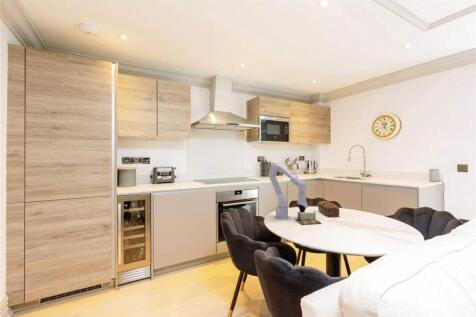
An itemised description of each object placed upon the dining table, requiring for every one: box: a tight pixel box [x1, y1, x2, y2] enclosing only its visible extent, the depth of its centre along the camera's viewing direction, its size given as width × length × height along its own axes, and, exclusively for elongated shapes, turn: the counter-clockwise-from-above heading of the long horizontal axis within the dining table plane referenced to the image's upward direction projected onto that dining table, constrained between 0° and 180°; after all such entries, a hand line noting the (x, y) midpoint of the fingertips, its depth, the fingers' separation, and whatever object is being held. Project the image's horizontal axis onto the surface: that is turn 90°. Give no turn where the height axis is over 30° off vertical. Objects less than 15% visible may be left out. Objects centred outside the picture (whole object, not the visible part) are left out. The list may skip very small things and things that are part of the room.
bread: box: [317, 200, 340, 218], centre depth 192 cm, size 19×11×10 cm, turn 3°
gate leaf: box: [300, 211, 315, 220], centre depth 173 cm, size 11×2×5 cm, turn 99°
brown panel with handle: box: [294, 210, 322, 226], centre depth 171 cm, size 16×12×7 cm
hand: (302, 214), depth 179 cm, fingers closed
